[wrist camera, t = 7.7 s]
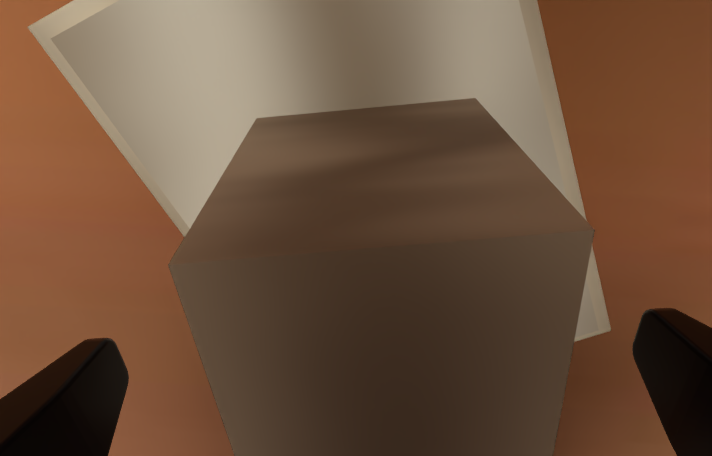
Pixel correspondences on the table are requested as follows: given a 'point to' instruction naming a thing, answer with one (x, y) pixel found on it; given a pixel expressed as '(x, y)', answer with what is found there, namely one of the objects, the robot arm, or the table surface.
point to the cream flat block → (303, 81)
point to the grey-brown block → (385, 286)
